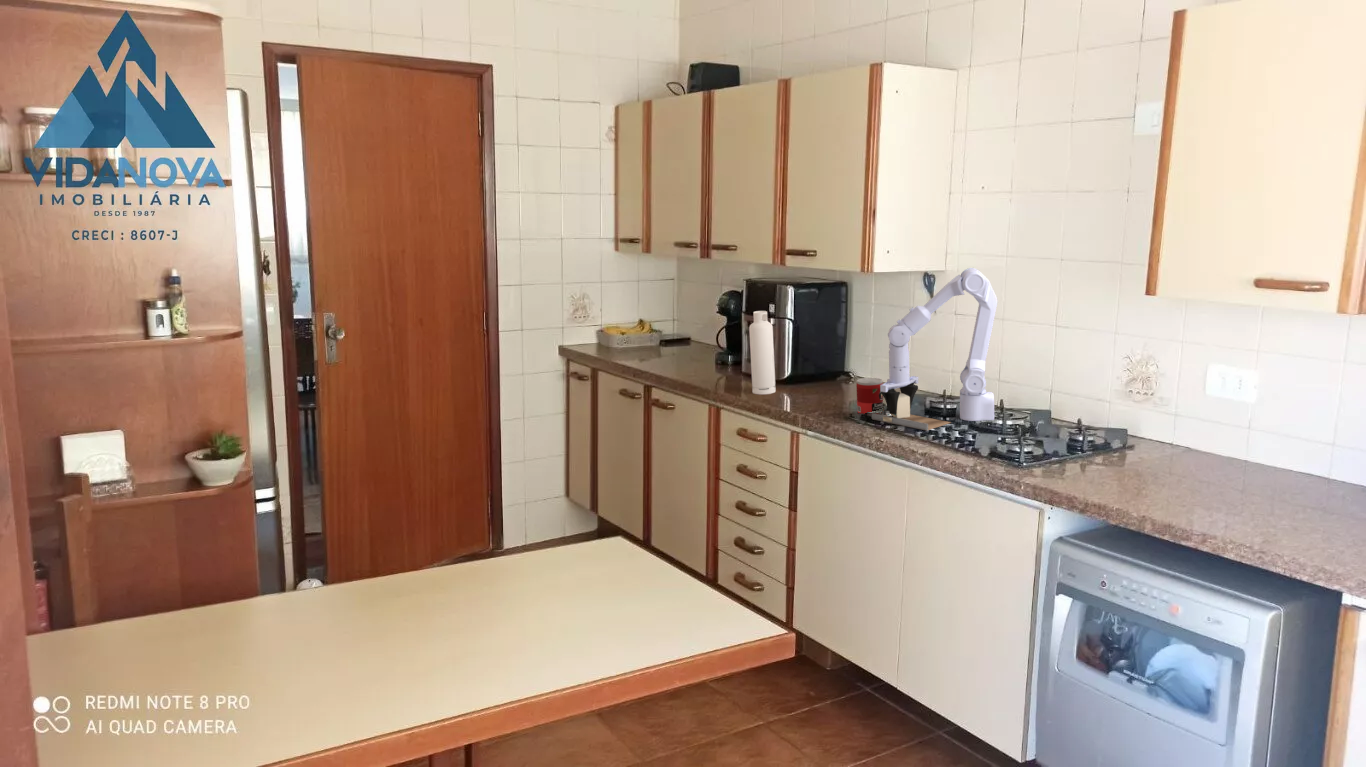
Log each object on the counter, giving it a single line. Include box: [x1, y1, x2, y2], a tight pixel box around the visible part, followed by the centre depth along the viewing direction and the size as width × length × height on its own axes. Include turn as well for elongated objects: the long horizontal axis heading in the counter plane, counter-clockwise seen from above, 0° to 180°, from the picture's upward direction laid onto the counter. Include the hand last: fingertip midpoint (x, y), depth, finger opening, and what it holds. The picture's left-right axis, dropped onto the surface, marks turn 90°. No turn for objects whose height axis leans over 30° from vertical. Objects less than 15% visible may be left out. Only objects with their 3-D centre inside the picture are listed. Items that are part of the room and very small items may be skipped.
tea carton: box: [891, 392, 911, 418], centre depth 275 cm, size 5×4×6 cm
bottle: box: [748, 310, 776, 395], centre depth 325 cm, size 8×8×28 cm
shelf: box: [871, 413, 952, 432], centre depth 273 cm, size 20×11×3 cm, turn 37°
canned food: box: [855, 377, 884, 415], centre depth 286 cm, size 8×8×11 cm
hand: (900, 411), depth 275 cm, fingers closed on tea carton, 6 cm apart
